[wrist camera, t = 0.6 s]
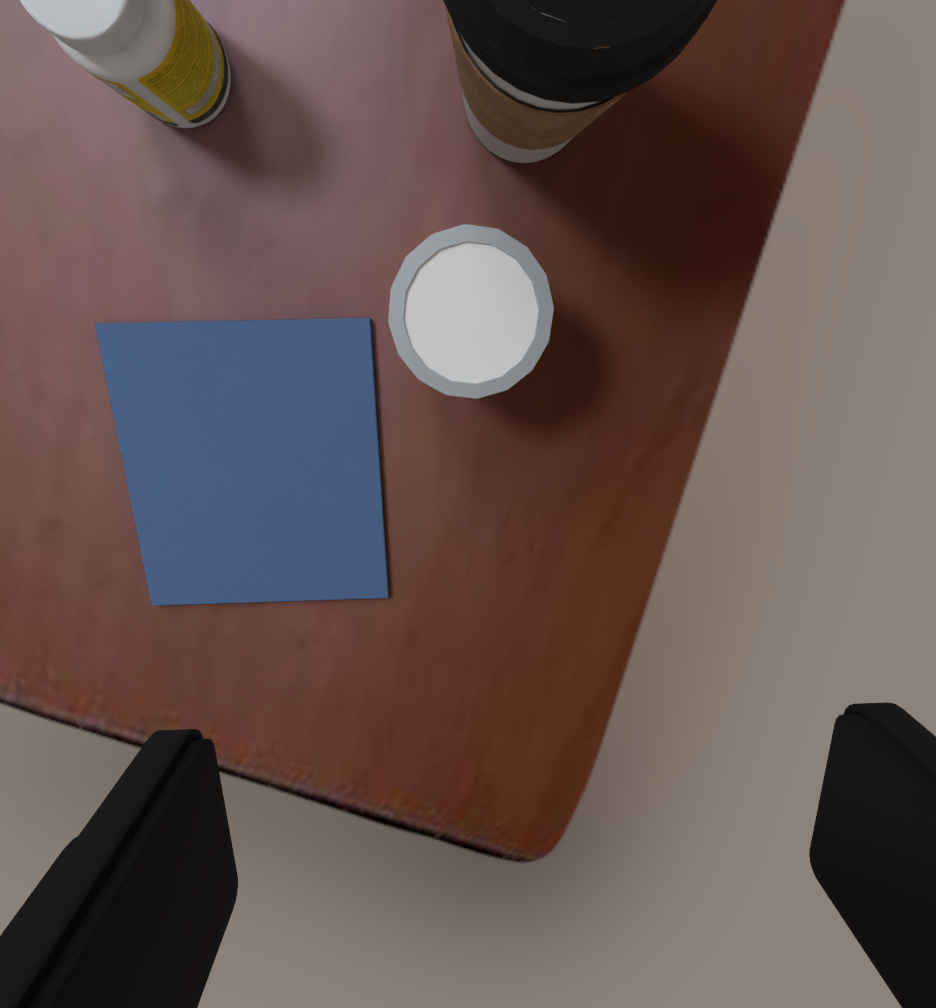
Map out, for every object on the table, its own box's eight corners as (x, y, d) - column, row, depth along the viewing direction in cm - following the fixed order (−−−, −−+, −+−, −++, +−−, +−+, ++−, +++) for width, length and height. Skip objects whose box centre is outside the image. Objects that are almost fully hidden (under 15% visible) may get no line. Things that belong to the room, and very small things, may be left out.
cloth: (98, 323, 30) (94, 323, 30) (370, 318, 31) (369, 318, 30) (154, 602, 35) (151, 605, 35) (388, 595, 35) (388, 598, 35)
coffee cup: (622, 173, 29) (793, 29, 15) (454, 207, 29) (461, 98, 15) (602, -32, 26) (786, -451, 12) (419, 6, 27) (386, -360, 12)
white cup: (376, 285, 30) (356, 275, 23) (496, 219, 29) (510, 190, 23) (439, 404, 32) (436, 426, 25) (552, 345, 31) (580, 352, 25)
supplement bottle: (223, 8, 26) (125, -130, 18) (241, 127, 28) (157, 49, 20) (116, 13, 26) (-29, -122, 18) (140, 133, 28) (14, 56, 20)
